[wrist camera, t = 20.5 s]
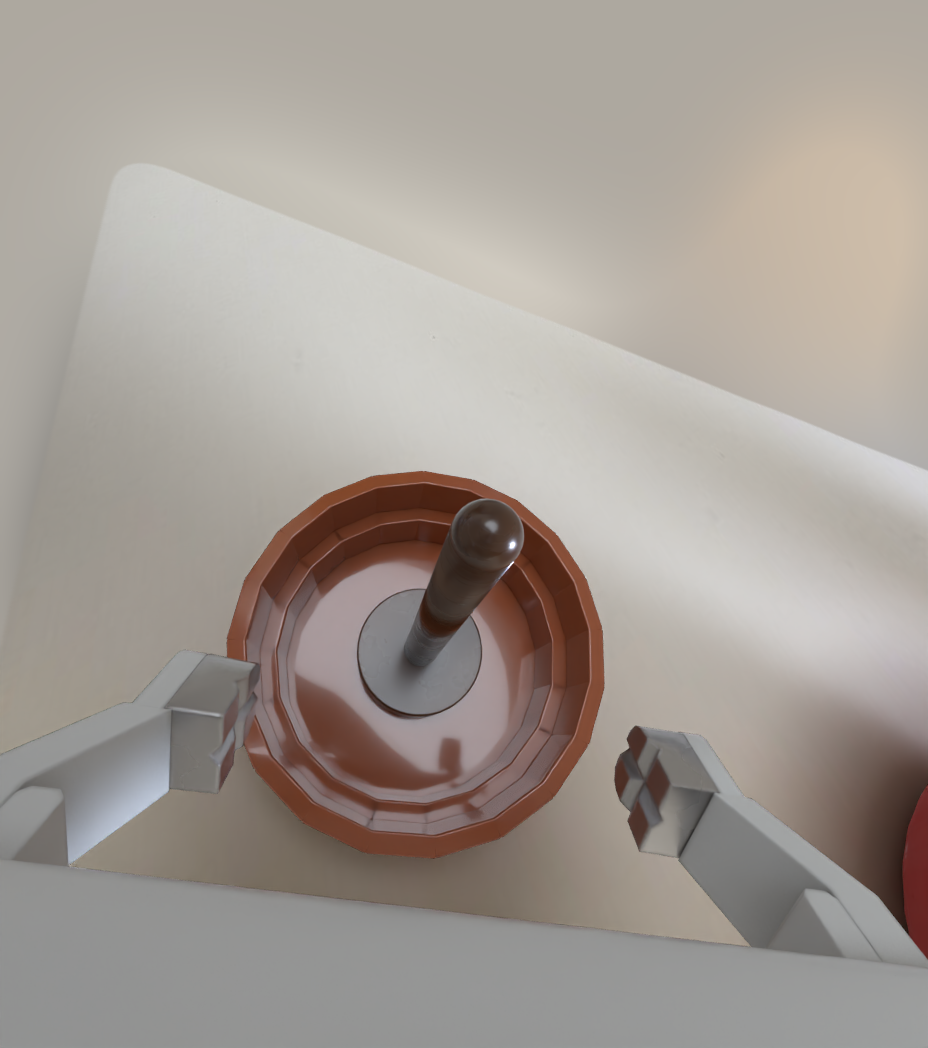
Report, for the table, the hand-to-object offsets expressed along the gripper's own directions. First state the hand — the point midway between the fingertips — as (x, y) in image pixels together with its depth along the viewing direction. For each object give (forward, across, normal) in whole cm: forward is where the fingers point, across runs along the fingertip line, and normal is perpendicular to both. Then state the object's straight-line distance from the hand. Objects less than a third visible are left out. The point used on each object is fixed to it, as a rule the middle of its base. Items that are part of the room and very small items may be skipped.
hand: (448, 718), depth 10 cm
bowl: (+13, 0, +8) cm, 15 cm away
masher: (+13, 0, +8) cm, 15 cm away
